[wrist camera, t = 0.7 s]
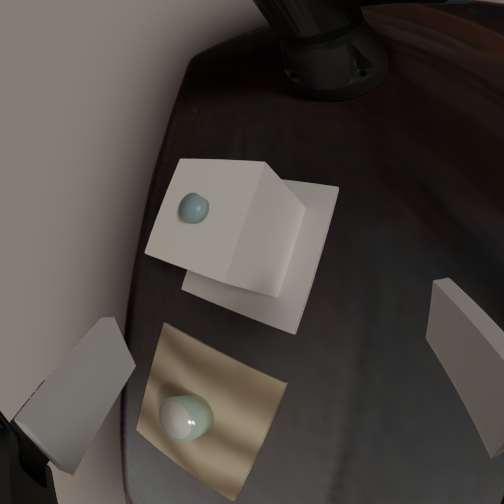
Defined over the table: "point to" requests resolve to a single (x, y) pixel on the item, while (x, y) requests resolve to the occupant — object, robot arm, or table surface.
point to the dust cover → (228, 223)
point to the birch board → (221, 402)
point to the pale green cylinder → (186, 417)
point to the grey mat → (298, 271)
